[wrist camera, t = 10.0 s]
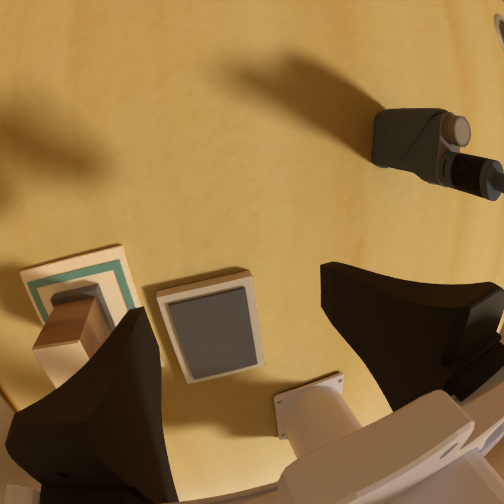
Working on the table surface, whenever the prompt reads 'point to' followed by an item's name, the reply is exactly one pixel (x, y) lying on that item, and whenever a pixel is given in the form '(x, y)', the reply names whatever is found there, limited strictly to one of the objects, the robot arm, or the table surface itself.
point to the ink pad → (214, 326)
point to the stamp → (73, 332)
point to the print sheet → (84, 281)
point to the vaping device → (434, 150)
